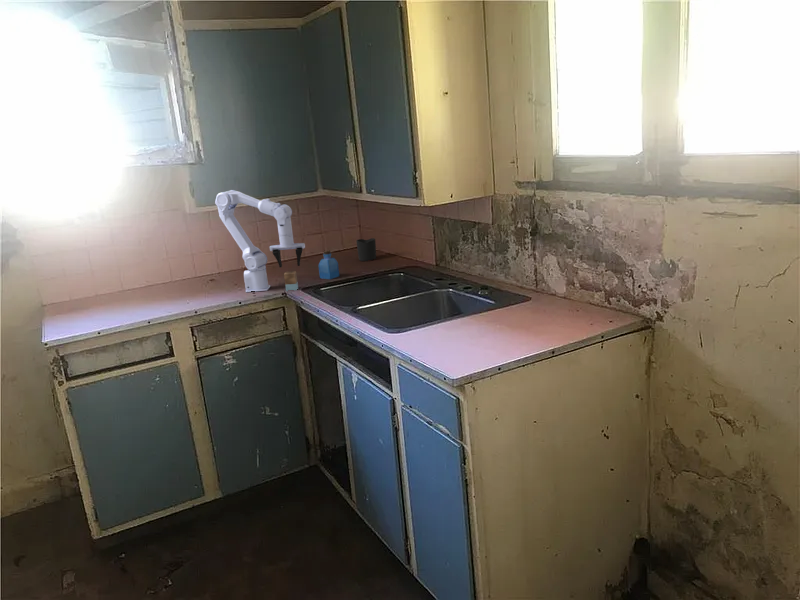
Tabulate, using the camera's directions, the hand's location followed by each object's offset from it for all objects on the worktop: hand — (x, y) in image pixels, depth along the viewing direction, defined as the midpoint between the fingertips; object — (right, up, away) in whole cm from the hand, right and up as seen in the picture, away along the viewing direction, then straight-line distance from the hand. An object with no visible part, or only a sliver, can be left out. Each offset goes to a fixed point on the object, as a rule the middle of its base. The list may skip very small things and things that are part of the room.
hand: (289, 266), depth 276 cm
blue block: (+1, -10, +2) cm, 10 cm away
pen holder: (+30, +6, +51) cm, 59 cm away
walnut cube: (0, -7, +1) cm, 7 cm away
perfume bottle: (+15, -4, +19) cm, 24 cm away
